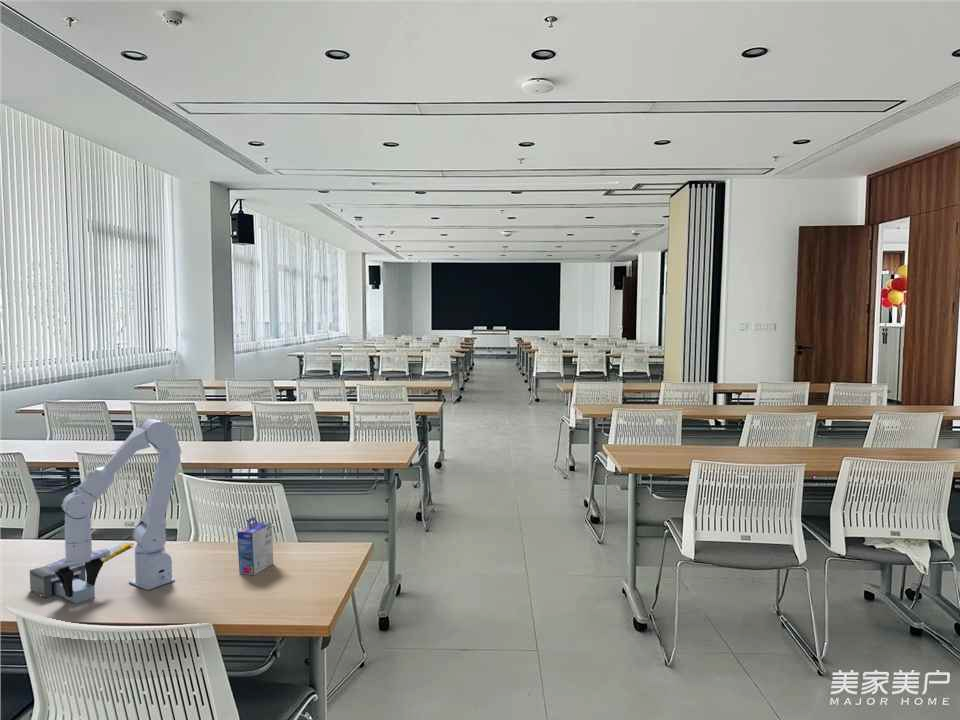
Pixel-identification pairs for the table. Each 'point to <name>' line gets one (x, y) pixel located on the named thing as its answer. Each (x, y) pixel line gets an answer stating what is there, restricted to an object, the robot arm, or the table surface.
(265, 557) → the ink cartridge box
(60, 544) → the table surface
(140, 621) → the table surface
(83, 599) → the pale blue rectangular block
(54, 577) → the gray block
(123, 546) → the candy bar
